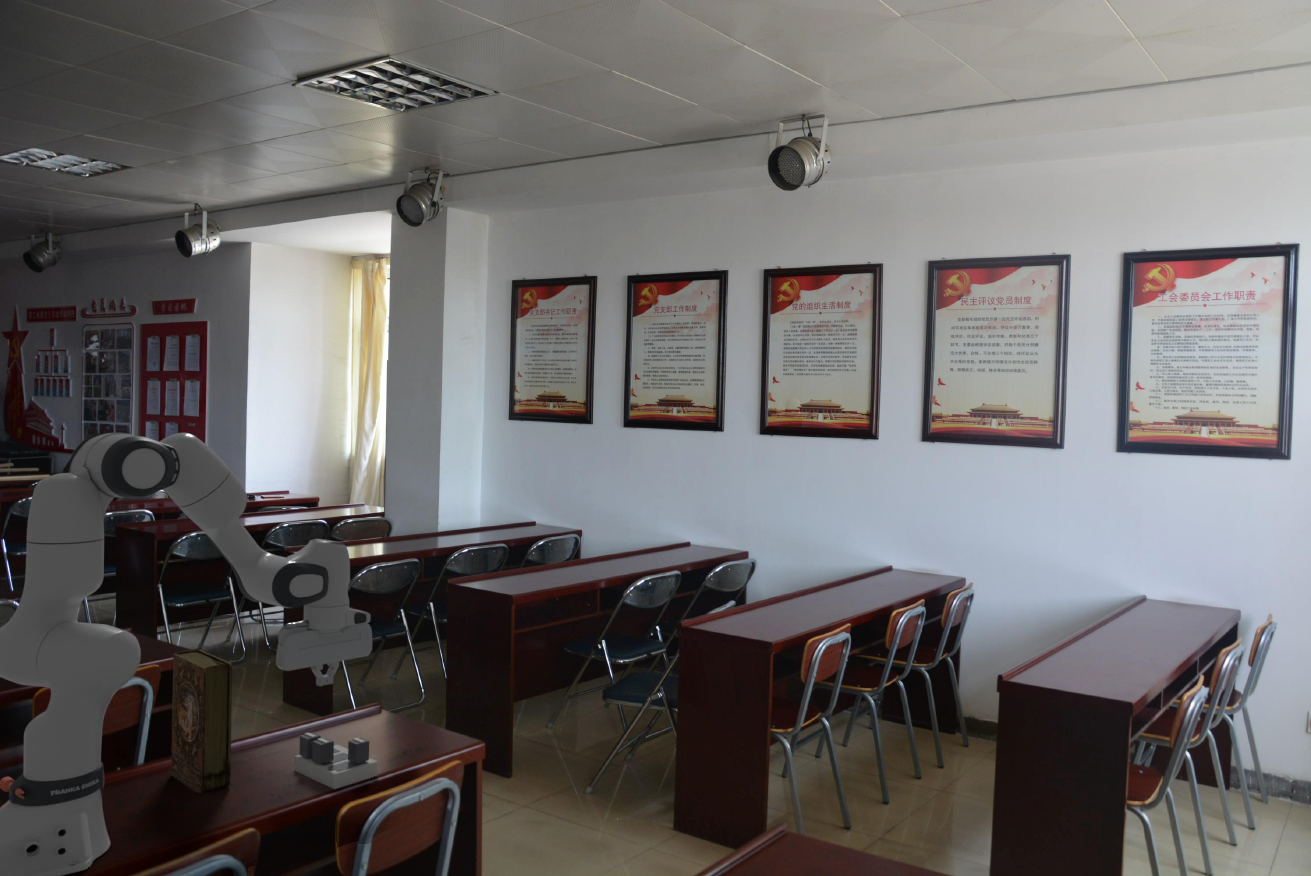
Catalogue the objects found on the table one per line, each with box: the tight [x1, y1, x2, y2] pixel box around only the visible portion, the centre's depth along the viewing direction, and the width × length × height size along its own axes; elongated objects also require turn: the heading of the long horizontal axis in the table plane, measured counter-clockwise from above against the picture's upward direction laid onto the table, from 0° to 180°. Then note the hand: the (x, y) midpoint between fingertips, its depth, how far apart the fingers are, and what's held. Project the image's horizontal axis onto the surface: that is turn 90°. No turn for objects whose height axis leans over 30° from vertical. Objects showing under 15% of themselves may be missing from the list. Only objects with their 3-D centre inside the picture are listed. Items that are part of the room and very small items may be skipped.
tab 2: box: [347, 737, 370, 764], centre depth 197 cm, size 3×3×4 cm
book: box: [170, 649, 233, 795], centre depth 192 cm, size 16×6×25 cm, turn 48°
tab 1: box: [298, 732, 322, 758], centre depth 199 cm, size 3×3×4 cm
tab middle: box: [312, 737, 335, 764], centre depth 196 cm, size 3×3×4 cm
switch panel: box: [293, 744, 379, 790], centre depth 198 cm, size 10×15×3 cm, turn 51°
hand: (324, 684), depth 196 cm, fingers closed
